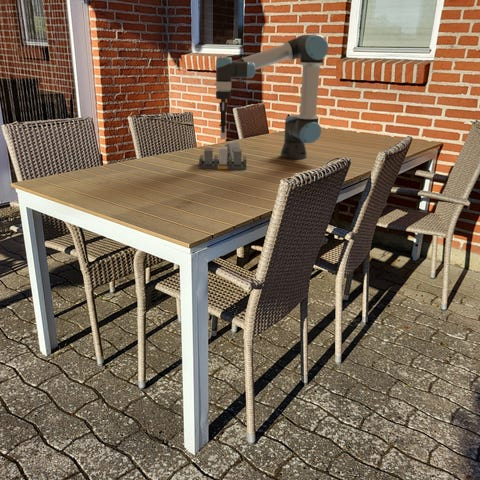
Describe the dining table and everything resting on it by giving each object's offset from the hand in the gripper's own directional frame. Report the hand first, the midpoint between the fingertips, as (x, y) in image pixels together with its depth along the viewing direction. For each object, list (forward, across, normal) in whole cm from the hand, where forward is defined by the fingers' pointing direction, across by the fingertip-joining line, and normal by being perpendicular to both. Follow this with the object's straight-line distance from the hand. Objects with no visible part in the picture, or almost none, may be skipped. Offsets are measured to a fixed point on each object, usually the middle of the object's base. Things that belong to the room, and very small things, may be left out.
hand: (223, 138), depth 243 cm
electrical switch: (+15, -21, +5) cm, 26 cm away
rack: (+14, 0, 0) cm, 14 cm away
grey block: (+14, 0, 0) cm, 14 cm away
